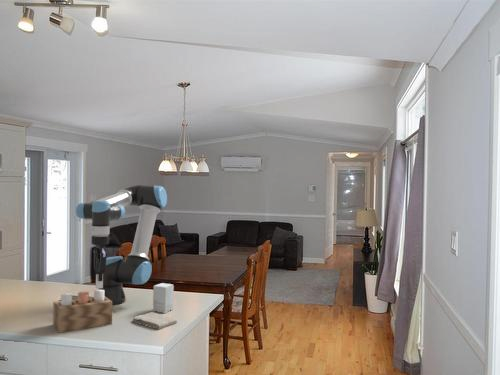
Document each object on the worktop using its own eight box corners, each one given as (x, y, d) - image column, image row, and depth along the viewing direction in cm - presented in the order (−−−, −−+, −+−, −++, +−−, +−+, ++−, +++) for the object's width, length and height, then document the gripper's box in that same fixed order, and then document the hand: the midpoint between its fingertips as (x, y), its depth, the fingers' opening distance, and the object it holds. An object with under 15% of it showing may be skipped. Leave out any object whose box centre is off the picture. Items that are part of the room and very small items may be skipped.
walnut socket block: (103, 316, 211) (104, 295, 211) (112, 324, 201) (112, 301, 201) (53, 324, 198) (53, 301, 198) (59, 332, 189) (59, 308, 188)
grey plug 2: (102, 308, 207) (102, 289, 207) (105, 311, 203) (105, 291, 203) (92, 310, 204) (92, 290, 204) (95, 312, 201) (95, 292, 201)
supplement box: (173, 309, 226) (174, 284, 226) (164, 313, 219) (165, 287, 219) (161, 307, 229) (162, 282, 229) (152, 311, 222) (152, 285, 222)
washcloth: (150, 316, 215) (150, 310, 215) (178, 324, 205) (178, 317, 205) (130, 322, 206) (130, 315, 205) (159, 331, 195) (159, 323, 195)
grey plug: (70, 313, 199) (70, 292, 199) (72, 316, 195) (73, 295, 195) (59, 314, 196) (59, 294, 196) (62, 317, 193) (62, 296, 193)
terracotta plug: (86, 311, 203) (87, 291, 203) (89, 313, 199) (89, 293, 199) (76, 312, 200) (76, 292, 200) (79, 315, 197) (79, 294, 197)
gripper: (87, 234, 206) (86, 285, 207) (96, 237, 196) (95, 292, 196) (104, 233, 211) (103, 284, 211) (113, 236, 200) (112, 290, 200)
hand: (99, 287), depth 203 cm, fingers closed
